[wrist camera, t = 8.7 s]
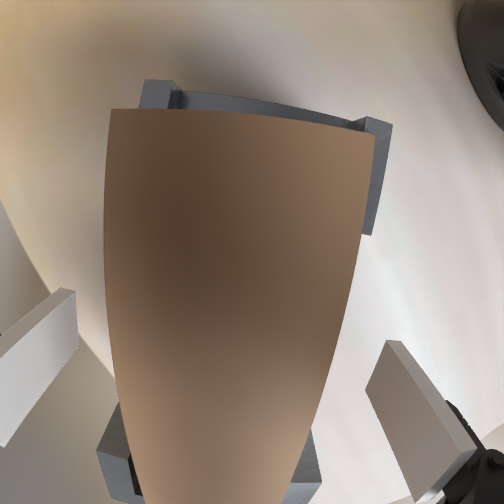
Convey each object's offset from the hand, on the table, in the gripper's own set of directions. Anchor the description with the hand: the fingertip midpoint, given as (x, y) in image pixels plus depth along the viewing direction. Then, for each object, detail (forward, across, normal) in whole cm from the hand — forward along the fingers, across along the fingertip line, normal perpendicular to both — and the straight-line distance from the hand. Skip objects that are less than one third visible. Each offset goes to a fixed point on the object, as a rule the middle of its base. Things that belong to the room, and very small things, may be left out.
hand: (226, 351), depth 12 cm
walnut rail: (+1, 0, 0) cm, 1 cm away
